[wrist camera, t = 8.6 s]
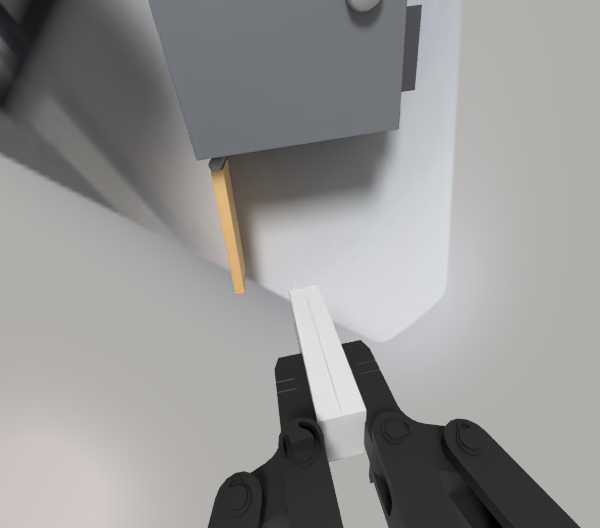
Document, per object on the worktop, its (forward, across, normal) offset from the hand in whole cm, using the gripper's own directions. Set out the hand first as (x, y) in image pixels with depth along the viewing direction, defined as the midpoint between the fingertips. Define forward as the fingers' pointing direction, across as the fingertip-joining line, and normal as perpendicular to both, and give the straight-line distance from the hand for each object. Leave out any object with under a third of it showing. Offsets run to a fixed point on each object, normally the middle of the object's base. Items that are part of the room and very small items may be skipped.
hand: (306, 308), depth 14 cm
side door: (+20, -5, -2) cm, 20 cm away
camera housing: (+20, +2, +12) cm, 23 cm away
